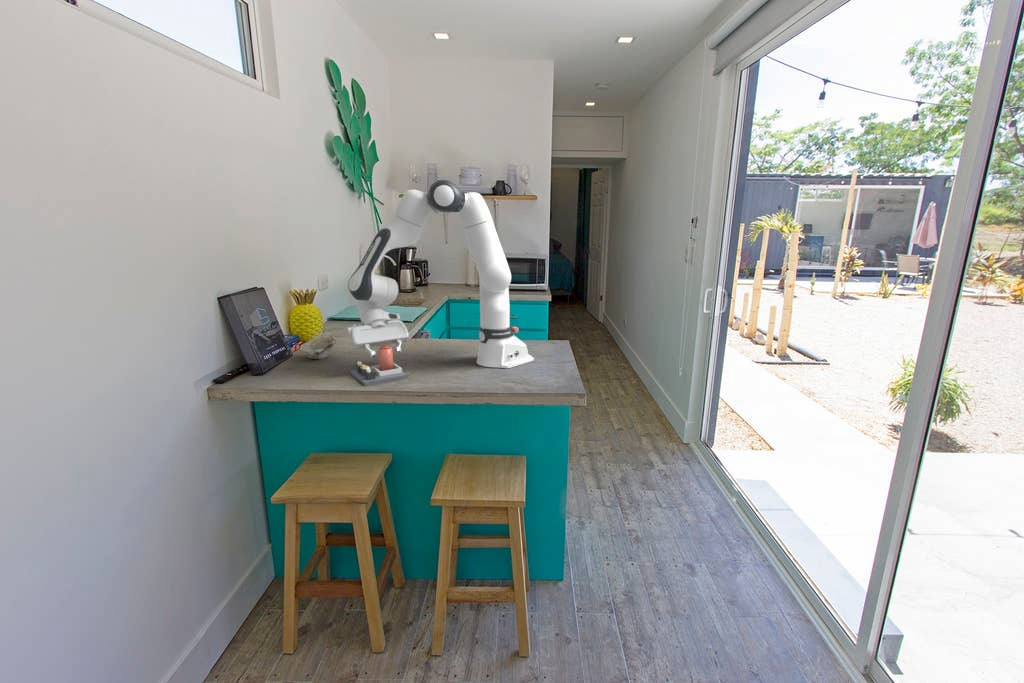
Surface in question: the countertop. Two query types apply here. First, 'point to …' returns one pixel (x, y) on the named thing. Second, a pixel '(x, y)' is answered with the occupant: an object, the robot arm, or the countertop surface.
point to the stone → (319, 345)
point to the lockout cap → (386, 358)
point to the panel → (376, 374)
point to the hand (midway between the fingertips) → (386, 354)
